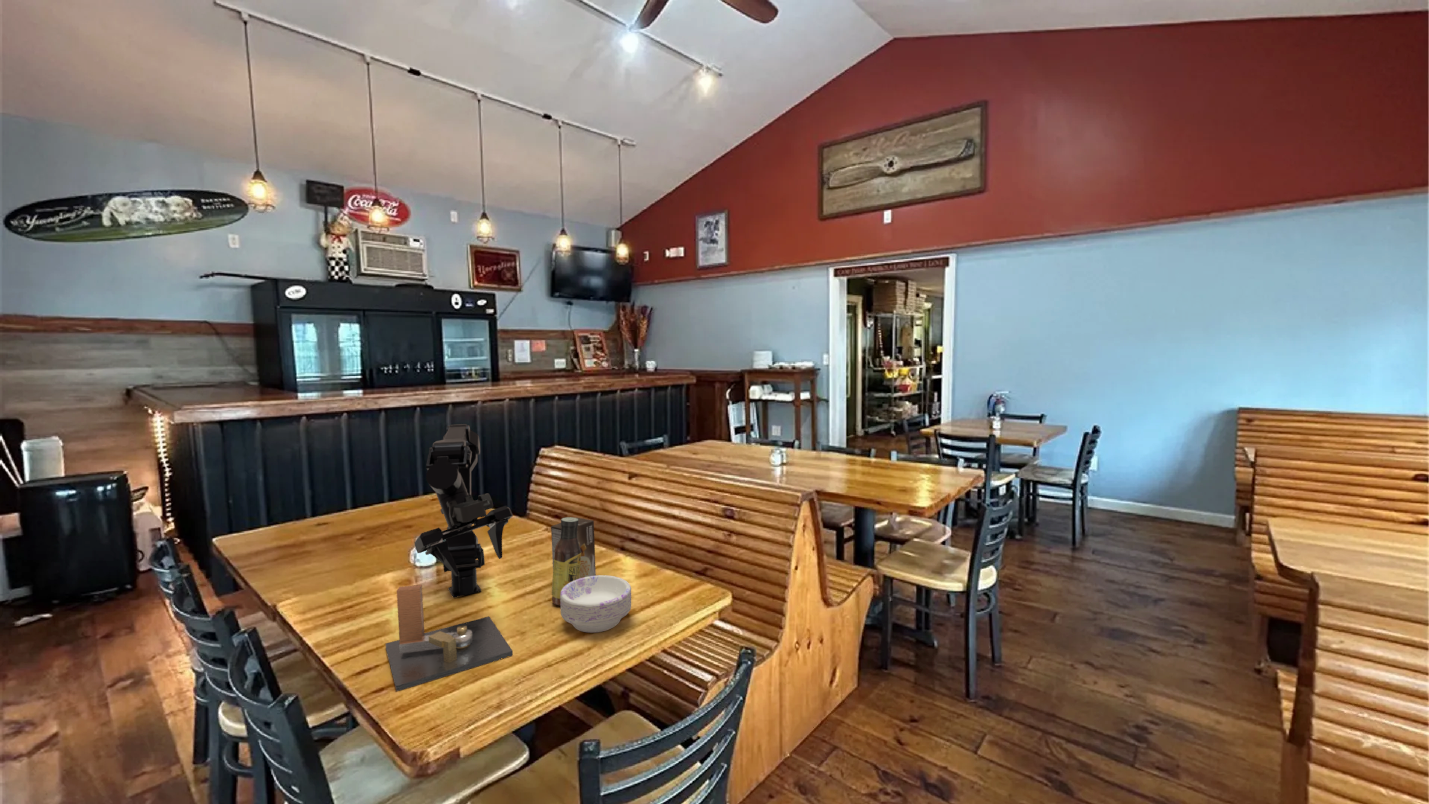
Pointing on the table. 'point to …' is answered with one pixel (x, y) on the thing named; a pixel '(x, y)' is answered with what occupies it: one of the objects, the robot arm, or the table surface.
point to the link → (418, 622)
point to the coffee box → (585, 542)
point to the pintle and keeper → (448, 643)
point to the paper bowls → (595, 602)
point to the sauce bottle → (566, 558)
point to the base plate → (431, 662)
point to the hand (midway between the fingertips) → (479, 566)
